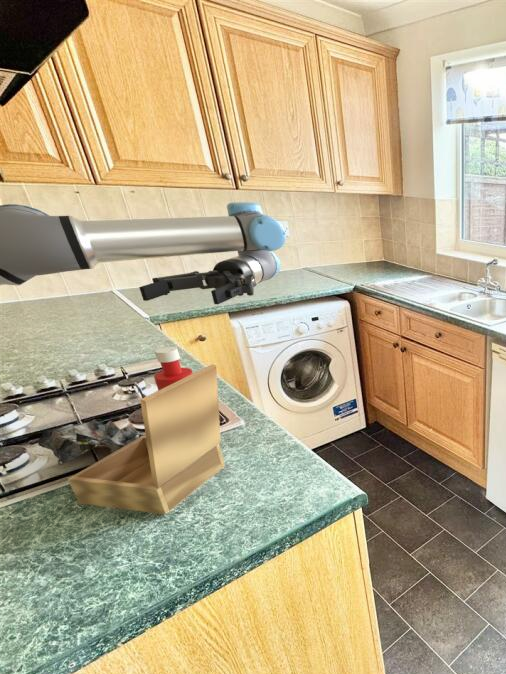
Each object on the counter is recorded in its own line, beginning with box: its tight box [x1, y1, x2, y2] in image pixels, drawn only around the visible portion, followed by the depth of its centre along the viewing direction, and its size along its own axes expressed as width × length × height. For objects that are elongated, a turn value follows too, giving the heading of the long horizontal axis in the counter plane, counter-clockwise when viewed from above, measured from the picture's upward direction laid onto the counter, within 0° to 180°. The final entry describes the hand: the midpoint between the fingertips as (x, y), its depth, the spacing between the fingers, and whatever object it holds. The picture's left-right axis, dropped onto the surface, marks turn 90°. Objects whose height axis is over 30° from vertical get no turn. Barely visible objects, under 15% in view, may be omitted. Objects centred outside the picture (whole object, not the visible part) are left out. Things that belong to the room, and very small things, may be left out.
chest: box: [67, 435, 226, 515], centre depth 75 cm, size 16×14×6 cm
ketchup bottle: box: [153, 346, 194, 391], centre depth 85 cm, size 6×6×21 cm
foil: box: [37, 419, 146, 466], centre depth 82 cm, size 12×11×15 cm
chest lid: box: [140, 364, 222, 488], centre depth 69 cm, size 16×14×1 cm
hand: (179, 295), depth 83 cm, fingers open, 13 cm apart
